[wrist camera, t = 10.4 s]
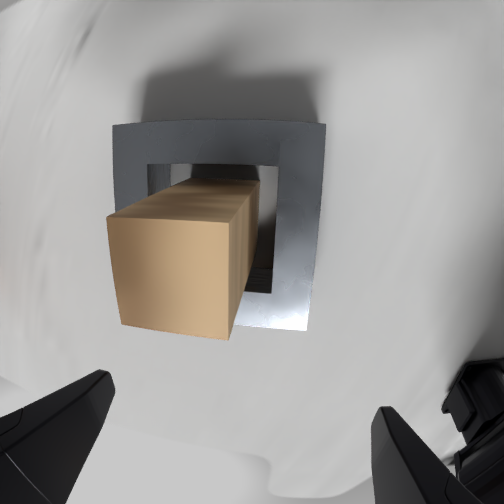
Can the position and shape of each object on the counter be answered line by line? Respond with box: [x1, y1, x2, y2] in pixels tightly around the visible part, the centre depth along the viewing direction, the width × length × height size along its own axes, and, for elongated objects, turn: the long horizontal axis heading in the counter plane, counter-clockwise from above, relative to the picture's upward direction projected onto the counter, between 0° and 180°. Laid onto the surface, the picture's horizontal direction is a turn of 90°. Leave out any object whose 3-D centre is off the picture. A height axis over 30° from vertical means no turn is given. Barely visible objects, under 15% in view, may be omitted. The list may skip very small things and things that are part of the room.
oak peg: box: [106, 178, 260, 340], centre depth 15 cm, size 4×4×10 cm
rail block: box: [113, 119, 326, 330], centre depth 18 cm, size 11×12×4 cm
